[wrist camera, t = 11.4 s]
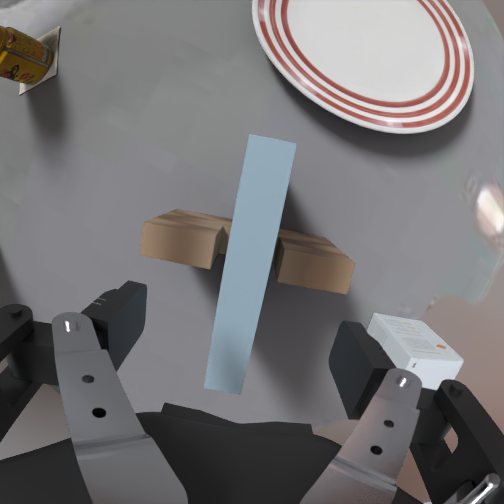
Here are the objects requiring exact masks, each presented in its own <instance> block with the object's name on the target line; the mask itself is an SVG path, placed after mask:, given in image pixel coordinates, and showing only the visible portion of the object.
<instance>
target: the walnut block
mask: <svg viewBox="0 0 504 504" xmlns="http://www.w3.org/2000/svg"><path fill="white" fill-rule="evenodd" d="M232 221H233V219H228V218H223V217H217V216H212V215H206V214H201V213H195V212H190V211H184V210H179V209H176V210H174V211H171V212H169V213H166V214H163V215H161V216H158V217H156V218H153V219H151V220H148V221H146V222H144V223H143V230H142V239H141V248H140V255H142V256H147V257H152V258H156V259H161V260H166V261H171V262H176V263H181V264H185V265H190V266H195V267H200V268H205V269H210V268H211V266H212V264H213V262H214V260H215V258H216V256H217V254H218V253H220V254H225V255H226V253H227V247H228V242H229V237H230V231H231V226H232ZM271 263H272V264H274V268H275V273H276V278H277V282H279V283H285V284H290V285H296V286H301V287H307V288H313V289H318V290H324V291H330V292H336V293H342V294H347V292H348V289H349V285H350V282H351V278H352V275H353V271H354V268H355V264H356V263H354V262H353V261H352V260H351V259H350V258H349V257H348V256H346V255H345V254H344V253H343V252H342V251H341V250H339V249H338V248H337V247H336V246H335V245H334V244H332V243H331V242H330V241H329V240H328V239H327V238H323V237H318V236H314V235H309V234H304V233H299V232H294V231H289V230H284V229H279V231H278V235H277V240H276V244H275V249H274V253H273V258H272V262H271Z"/></svg>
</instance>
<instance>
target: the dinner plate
mask: <svg viewBox="0 0 504 504" xmlns="http://www.w3.org/2000/svg"><path fill="white" fill-rule="evenodd" d="M252 17H253V24H254V28H255V31H256V34H257V37H258V39H259V42H260V43H261V46H262V48H263V50H264V51H265V53H266V54H267V56H268V57H269V59H270V60H271V62H272V63H273V64H274V65H275V67H276V68H277V69H278V71H279V72H280V73H281V74H282V75H283V76H284V77H285V78H286V79H287V80H288V81H289V82H290V83H291V84H292V85H293V86H294V87H295V88H297V89H298V90H299V91H300V92H301V93H302V94H304V95H305V96H306V97H308V98H309V99H310V100H312V101H313V102H315V103H316V104H318V105H319V106H321V107H322V108H324V109H326V110H327V111H329V112H331V113H333V114H335V115H336V116H338V117H340V118H342V119H344V120H347V121H349V122H352V123H354V124H357V125H359V126H362V127H365V128H369V129H372V130H376V131H380V132H386V133H395V134H415V133H422V132H427V131H431V130H434V129H436V128H439V127H441V126H443V125H444V124H446V123H448V122H449V121H451V120H452V119H453V118H454V117H456V116H457V115H458V114H459V112H460V111H461V110H462V109H463V107H464V106H465V104H466V103H467V101H468V99H469V96H470V93H471V90H472V86H473V80H474V60H473V54H472V49H471V46H470V42H469V39H468V37H467V34H466V32H465V29H464V27H463V25H462V23H461V22H460V20H459V18H458V16H457V15H456V13H455V12H454V10H453V9H452V7H451V6H450V5H449V3H448V2H447V1H446V0H253V1H252Z"/></svg>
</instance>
